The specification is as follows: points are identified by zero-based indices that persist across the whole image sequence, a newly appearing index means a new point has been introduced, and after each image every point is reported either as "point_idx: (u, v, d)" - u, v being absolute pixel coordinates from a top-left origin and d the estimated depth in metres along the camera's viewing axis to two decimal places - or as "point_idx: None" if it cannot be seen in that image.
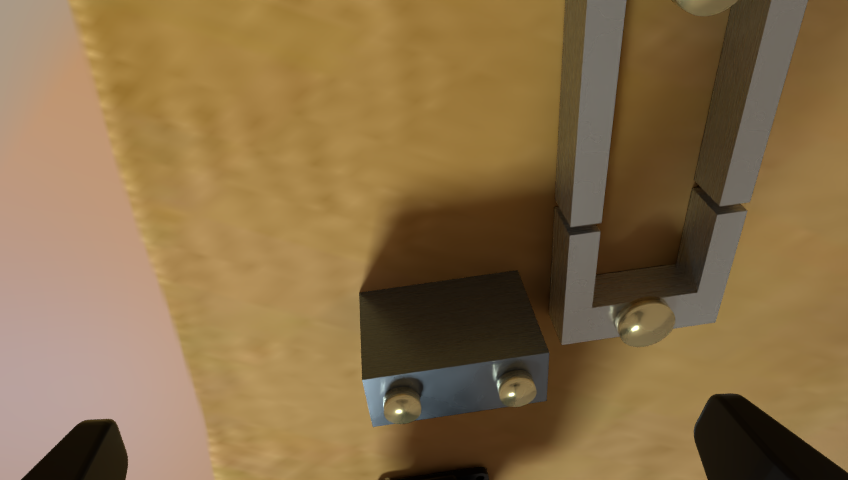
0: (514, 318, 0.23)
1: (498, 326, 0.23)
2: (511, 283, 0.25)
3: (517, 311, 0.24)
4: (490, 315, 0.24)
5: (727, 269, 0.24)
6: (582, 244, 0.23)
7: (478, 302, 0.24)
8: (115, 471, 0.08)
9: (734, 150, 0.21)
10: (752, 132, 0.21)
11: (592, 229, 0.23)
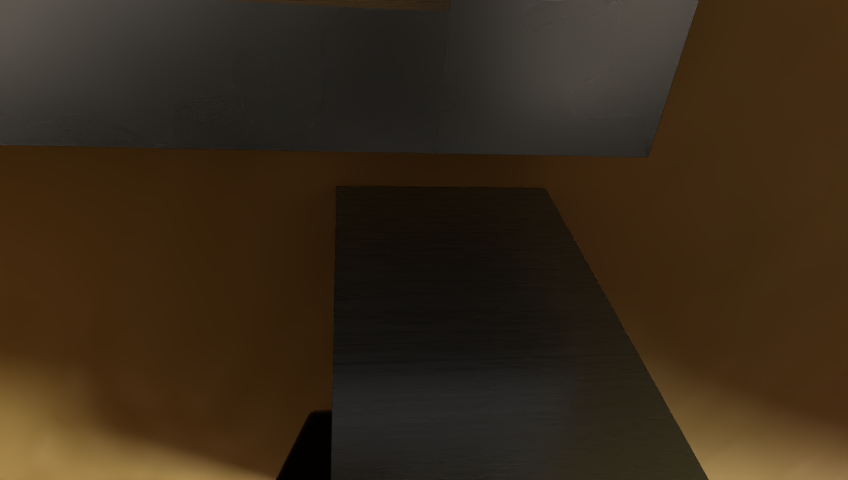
0: None
1: None
2: None
3: None
4: None
5: None
6: None
7: None
8: None
9: None
10: None
11: None
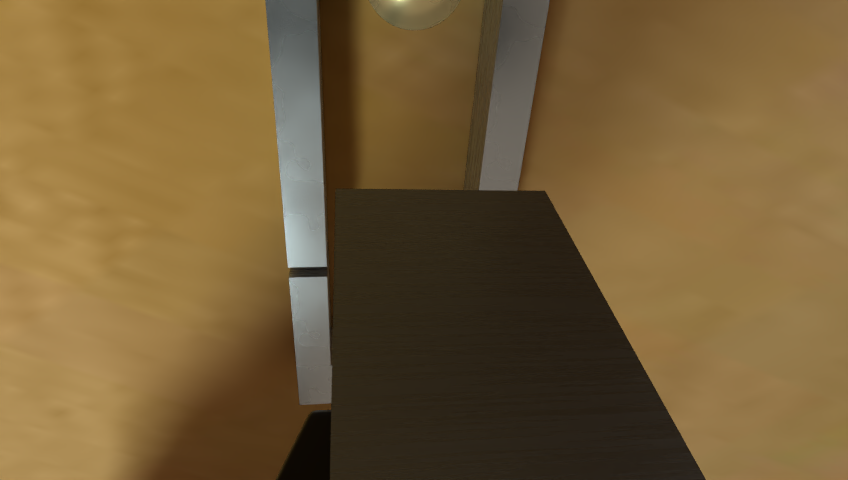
0: None
1: None
2: None
3: None
4: None
5: None
6: (306, 289, 0.19)
7: None
8: None
9: None
10: (497, 181, 0.18)
11: (319, 273, 0.19)
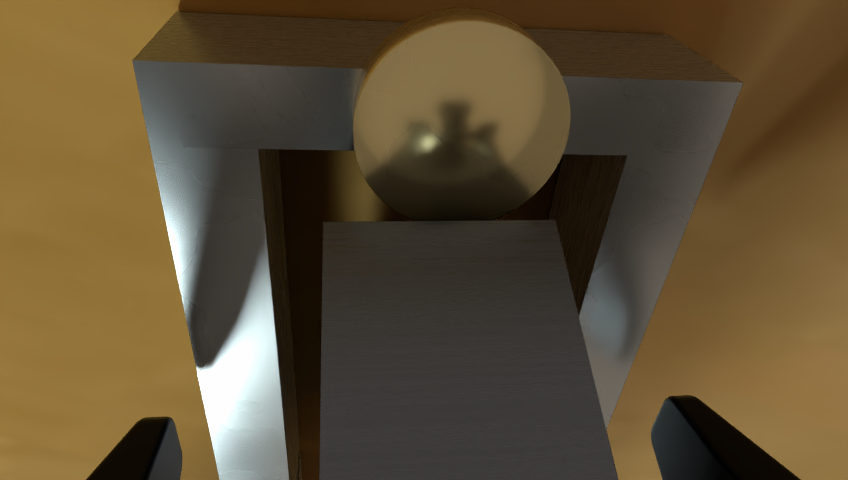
0: None
1: None
2: None
3: None
4: None
5: None
6: None
7: None
8: (173, 468, 0.08)
9: None
10: None
11: None
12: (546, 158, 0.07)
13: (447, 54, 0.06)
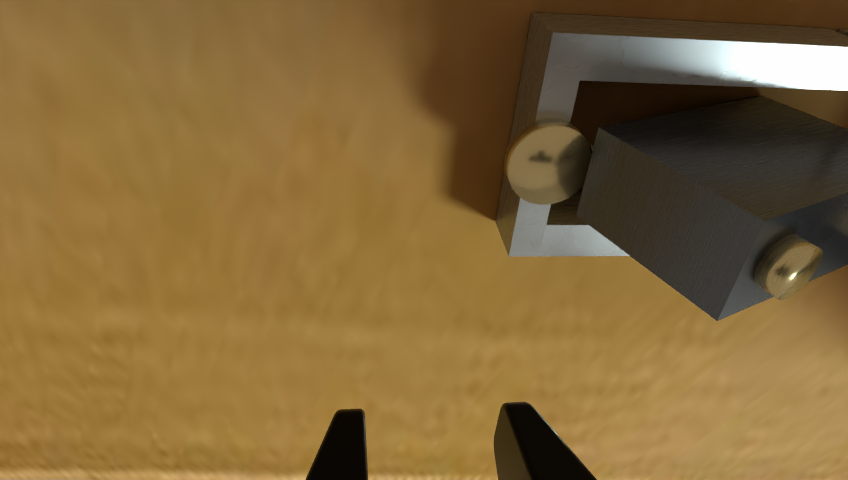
0: None
1: None
2: None
3: None
4: None
5: None
6: None
7: None
8: None
9: (780, 83, 0.16)
10: (766, 67, 0.16)
11: None
12: (568, 135, 0.16)
13: (518, 175, 0.16)
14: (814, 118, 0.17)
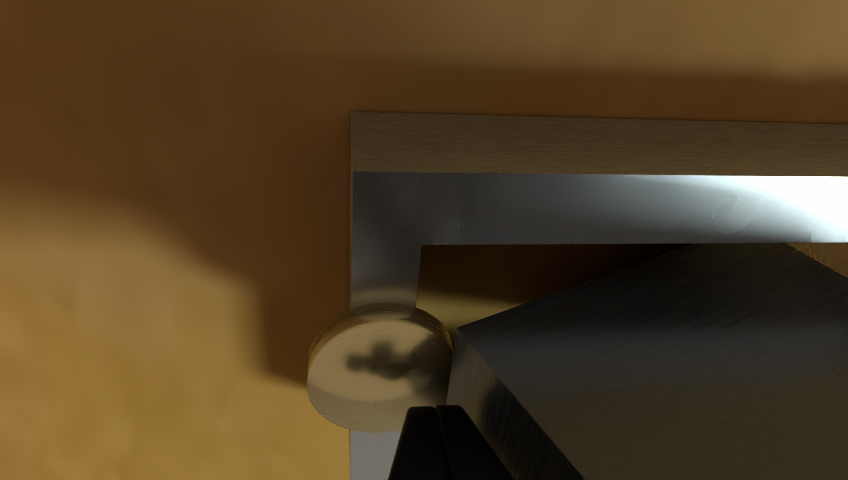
0: None
1: None
2: None
3: None
4: None
5: None
6: None
7: None
8: None
9: (782, 234, 0.09)
10: (758, 214, 0.09)
11: None
12: (404, 339, 0.09)
13: (328, 398, 0.09)
14: (836, 279, 0.10)
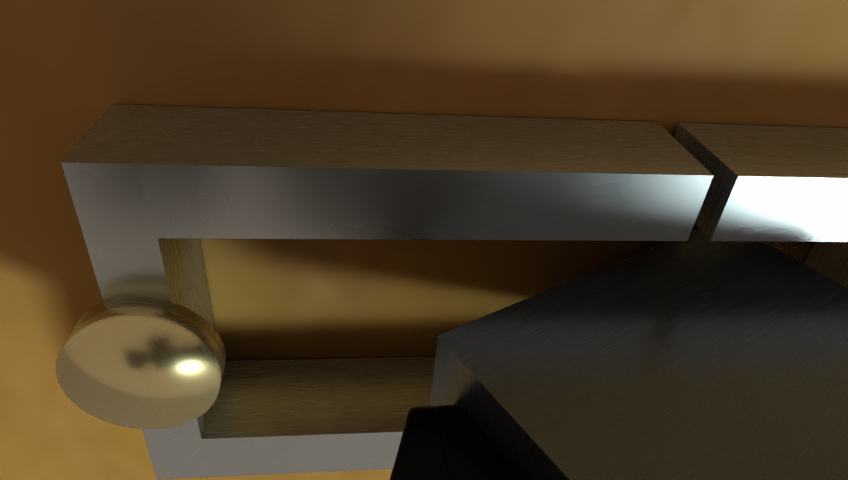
0: None
1: None
2: None
3: None
4: None
5: None
6: None
7: None
8: None
9: (548, 232, 0.09)
10: (511, 210, 0.09)
11: None
12: (145, 333, 0.09)
13: (84, 393, 0.09)
14: (805, 272, 0.11)
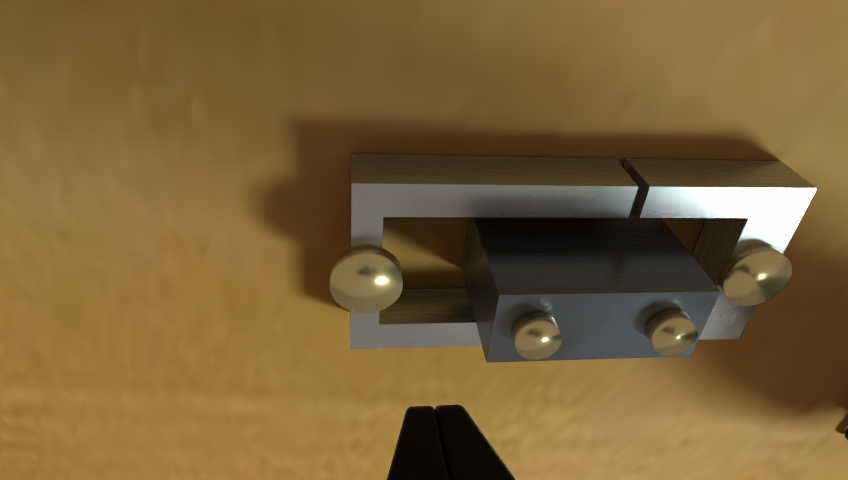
0: None
1: None
2: None
3: None
4: None
5: (731, 190, 0.20)
6: None
7: None
8: None
9: (561, 213, 0.19)
10: (544, 203, 0.19)
11: None
12: (375, 261, 0.19)
13: (339, 292, 0.19)
14: (668, 234, 0.21)
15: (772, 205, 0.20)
